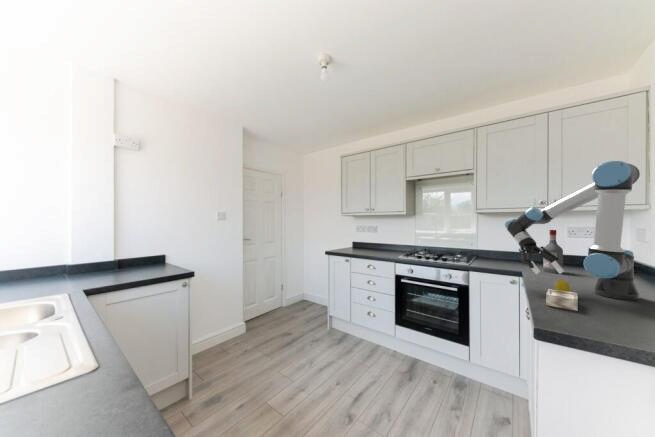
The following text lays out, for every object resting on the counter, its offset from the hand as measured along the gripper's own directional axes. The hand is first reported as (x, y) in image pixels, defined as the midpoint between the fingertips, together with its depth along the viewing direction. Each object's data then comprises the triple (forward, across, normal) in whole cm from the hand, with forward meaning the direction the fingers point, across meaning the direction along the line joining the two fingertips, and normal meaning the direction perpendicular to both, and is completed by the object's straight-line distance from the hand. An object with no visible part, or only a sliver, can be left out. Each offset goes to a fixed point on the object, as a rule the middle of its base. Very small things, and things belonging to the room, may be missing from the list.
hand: (550, 272), depth 133 cm
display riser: (+20, +13, +5) cm, 24 cm away
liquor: (-24, -50, -39) cm, 68 cm away
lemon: (+11, -1, -3) cm, 12 cm away
